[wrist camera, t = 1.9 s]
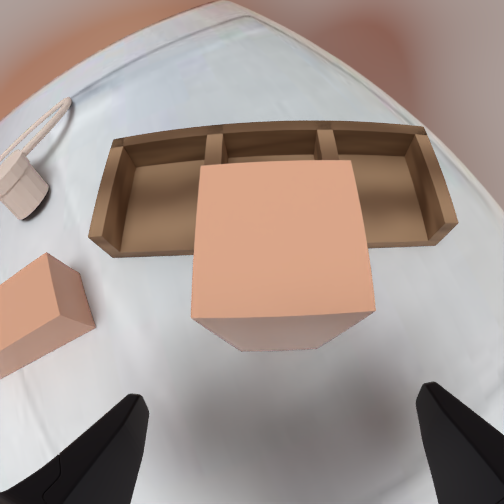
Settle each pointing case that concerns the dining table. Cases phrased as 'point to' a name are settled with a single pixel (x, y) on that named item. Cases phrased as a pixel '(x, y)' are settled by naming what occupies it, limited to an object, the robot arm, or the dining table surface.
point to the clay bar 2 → (280, 254)
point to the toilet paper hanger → (26, 169)
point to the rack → (263, 150)
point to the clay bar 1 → (40, 312)
